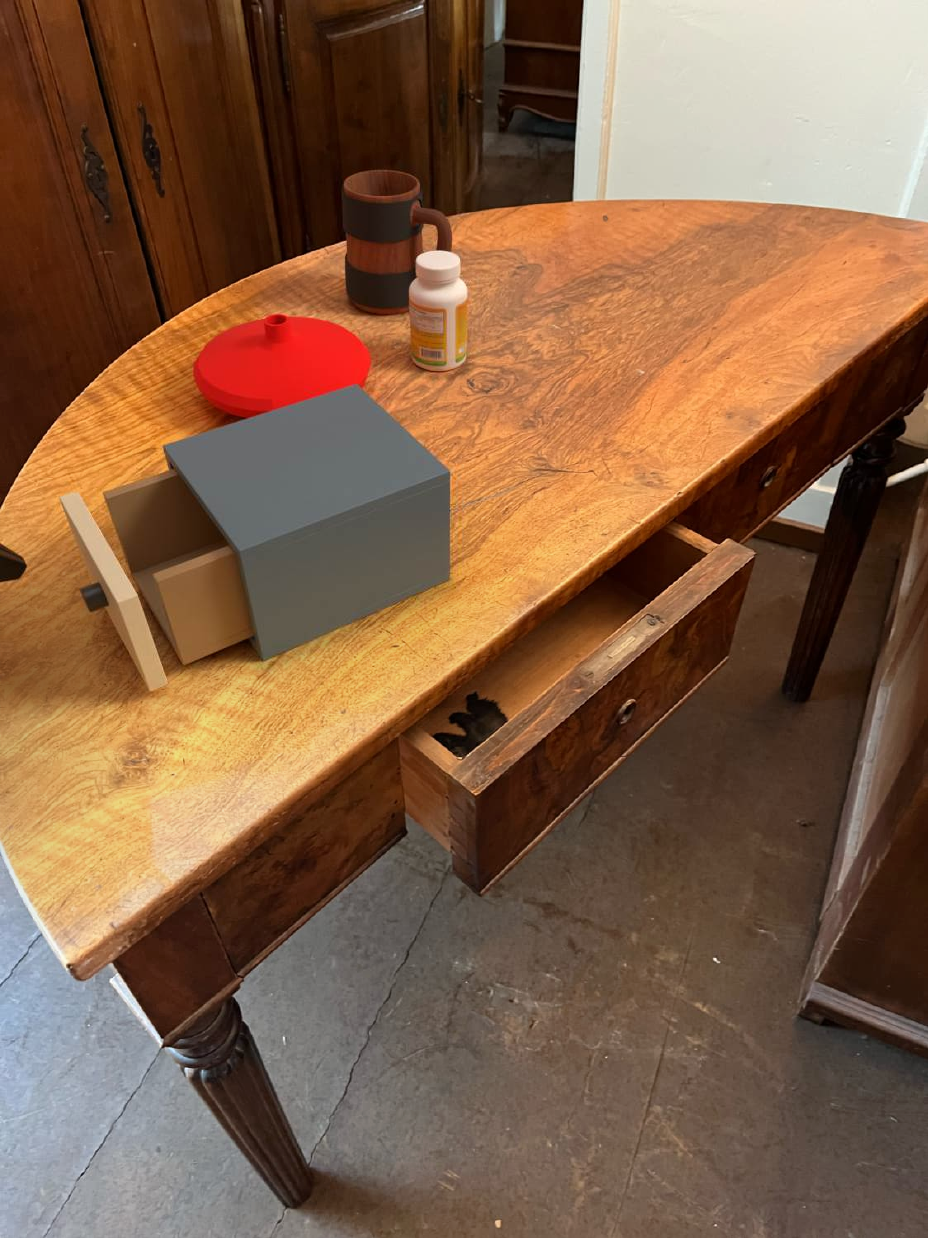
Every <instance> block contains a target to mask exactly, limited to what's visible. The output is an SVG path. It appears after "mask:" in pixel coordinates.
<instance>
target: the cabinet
mask: <svg viewBox="0 0 928 1238" xmlns="http://www.w3.org/2000/svg"><path fill="white" fill-rule="evenodd" d="M162 449H163V453H164V456H165V460H166V465H167V468H168V471H169V470H172V469H175V470H176V471H177V472H178V474H179V475H180V477H181V478H182V479H183V481H184V482H185V483H186V485H187V486H188V488H189V489H190V490H191V492H192V493H193V495H194V496H195V497H196V499H197V500H198V501H199V503H200V504H201V506H202V507H203V508H204V510H205V511H206V513H207V514H208V515H209V517H210V518H211V520H212V521H213V522H214V524H215V525H216V526H217V528H218V529H219V531H220V532H221V533H222V535H223V536H224V538H225V539H226V540H227V542H228V543H229V544H230V546H231V547H232V549H233V550H234V551H235V553H236V556H237V560H238V565H239V569H240V574H241V578H242V583H243V587H244V591H245V596H246V600H247V605H248V609H249V614H250V618H251V623H252V627H253V632H254V636H252V637H250V638H247V640H248V641H249V642H250V643H251V645H252V646H253V648H254V650H255V651H256V652H257V655H259V657H260V659H261V660H262V661H263V662H265V661H267V660H269V659H271V658H274V657H276V656H279V655H281V654H284V653H286V652H288V651H290V650H292V649H295V648H296V647H300V646H301V645H304V644H307V643H308V642H311V641H313V640H316V639H317V638H319V637H322V636H324V635H326V634H329V633H331V632H334V631H336V630H338V629H341V628H343V627H345V626H347V625H349V624H352V623H354V622H357V621H359V620H361V619H363V618H365V617H367V616H370V615H373V614H375V613H377V612H380V611H382V610H384V609H387V608H389V607H391V606H393V605H396V604H398V603H399V602H402V601H404V600H407V599H409V598H411V597H414V596H416V595H418V594H421V593H424V592H425V591H427V590H429V589H432V588H434V587H436V586H438V585H442V584H443V583H446V582H449V581H450V580H451V572H450V571H451V470H450V469H449V468H448V467H447V466H445V465H444V463H442V462H441V460H439V459H438V458H437V457H436V456H435V455H434V454H433V453H432V452H431V451H429V449H427V448H426V447H425V446H424V445H423V444H422V443H421V442H420V441H419V440H418V439H417V438H416V437H415V436H413V435H412V434H411V432H409V431H408V430H407V429H406V428H405V427H404V426H402V425H401V423H400V422H399V421H398V420H396V419H395V418H394V417H393V416H392V415H391V414H390V413H388V411H386V410H385V409H384V408H383V407H382V406H381V404H379V403H378V402H377V401H376V400H375V399H374V398H373V397H371V396H370V395H369V394H368V393H367V392H366V391H365V390H364V389H363V387H362V388H360V387H359V386H358V385H357V384H355V385H352V386H348V387H345V388H342V389H339V390H336V391H333V392H330V393H326V394H323V395H320V396H317V397H314V398H311V399H307V400H304V401H301V402H298V403H295V404H292V405H289V406H285V407H282V408H279V409H276V410H273V411H270V412H267V413H263V414H260V415H257V416H254V417H251V418H245V419H241V420H238V421H236V422H235V421H234V422H232V423H228V424H226V425H223V426H222V425H221V426H220V427H219V426H218V427H216V428H213V429H210V430H207V431H204V432H201V433H198V434H194V435H191V436H188V437H185V438H181V439H179V440H176V441H172V442H169V443H167V444H166V443H165V444H163V445H162Z"/></svg>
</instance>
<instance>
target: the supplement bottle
mask: <svg viewBox="0 0 928 1238" xmlns="http://www.w3.org/2000/svg"><path fill="white" fill-rule="evenodd" d="M416 276H417V278H416V279H415V280H414V281H413V282H412V283H411V285H410V287H409V309H410V310H409V330H410V331H409V333H410V355H411V360H412V362H413V363H414V364H415V365H416V366H418V367H419V368H421V369H424V370H427V371H434V372H446V371H451V370H453V369H454V370H455V369H457V368H458V367H460V366H461V365H463V364H464V363H465V362H466V359H467V355H468V354H467V351H468V287H467V285H466V283H465V281H464V280H462V279H461V278H460V276H461V258H460V257H459V255H458V254H456V253H455V252H454V253H453V252H452V251H451V252H447V251H436V250H430V251H429V250H428V251H424V253H422V254H421V255H419V256H418V257H417V258H416Z"/></svg>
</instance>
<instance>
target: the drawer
mask: <svg viewBox="0 0 928 1238" xmlns="http://www.w3.org/2000/svg"><path fill="white" fill-rule="evenodd" d="M102 495H103V498H104V502H105V504H106V507H107V510H108V513H109V516H110V519H111V521H112V524H113V527H114V530H115V533H116V536H117V539H118V542H119V545H120V548H121V550H122V553H123V556H124V559H125V563H126V566H127V568H128V571H129V574H130V576H131V578H132V580H133V582H134V583H135V585H136V587H137V588H138V590H139V592H140V593H141V595H142V597H143V599H144V600H145V602H146V604H147V606H148V608H149V609H150V611H151V612H152V614H153V616H154V617H155V619H156V621H157V623H158V624H159V626H160V628H161V630H162V631H163V633H164V635H165V637H166V638H167V640H168V641H169V644H170V645H171V647H172V649H173V650H174V653H176V655H177V658H178V659H179V660H180V662H181V664H182V665H183V666H186V665H188V664H190V663H193V662H195V661H198V660H199V659H203V658H204V657H207V656H209V655H211V654H212V655H213V653H216V652H219V651H221V650H223V649H224V650H225V649H226V648H228V647H230V646H234V645H235V644H237V643H240V642H243V641H244V640H248V638H250V637H252V636H254V632H253V627H252V623H251V618H250V614H249V609H248V605H247V600H246V596H245V591H244V587H243V583H242V578H241V574H240V569H239V565H238V560H237V556H236V553H235V551H234V550H233V549H232V547H231V546H230V544H229V543H228V542H227V540H226V539H225V538H224V536H223V535H222V533H221V532H220V531H219V529H218V528H217V526H216V525H215V524H214V522H213V521H212V520H211V518H210V517H209V515H208V514H207V513H206V511H205V510H204V508H203V507H202V506H201V504H200V503H199V501H198V500H197V499H196V497H195V496H194V495H193V493H192V492H191V490H190V489H189V488H188V486H187V485H186V483H185V482H184V481H183V479H182V478H181V477H180V475H179V474H178V472H177V471H176V470H175V469H172V470H169V469H168V470H166V471H163V472H159V473H157V474H154V475H151V476H147V477H145V478H141V479H138V480H136V481H133V482H129V483H126V484H124V485H120V486H117V487H114V488H111V489H109V490H105V491H103V492H102ZM58 499H59V502H60V504H61V507H62V509H63V512H64V514H65V517H66V520H67V522H68V525H69V527H70V530H71V533H72V535H73V538H74V541H75V543H76V545H77V548H78V551H79V552H80V555H81V558H82V560H83V563H84V566H85V568H86V571H87V573H88V576H89V578H90V581H91V584H88V585H85V586H84V587H81V588H79V592H80V595H81V597H82V600H83V602H84V604H85V606H86V608H87V610H88V612H89V613H93V612H96V611H99V610H102V609H105V610H106V613H107V614H108V616H109V618H110V620H111V622H112V624H113V626H114V628H115V629H116V631H117V633H118V635H119V637H120V639H121V640H122V643H123V644H124V646H125V648H126V651H127V652H128V654H129V656H130V657H131V659H132V662H133V663H134V665H135V666H136V669H137V671H138V672H139V674H140V677H141V678H142V680H143V682H144V684H145V686H146V688H147V690H148V691H149V692H151V693H152V692H153V691H156V690H158V689H160V688H163V687H165V686H167V685H168V684H169V682H168V679H167V676H166V673H165V670H164V667H163V663H162V661H161V659H160V656H159V653H158V650H157V646H156V644H155V641H154V638H153V635H152V633H151V630H150V627H149V623H148V621H147V618H146V614H145V611H144V609H143V606H142V603H141V600H140V597H139V595H138V593H137V591H136V590H135V587H134V586H133V584H132V583H131V581H130V579H129V578H128V576H127V574H126V573H125V571H124V569H123V567H122V565H121V564H120V562H119V560H118V558H117V556H116V554H115V553H114V552H113V549H112V548H111V546H110V544H109V542H108V541H107V539H106V537H105V535H104V534H103V532H102V531H101V529H100V527H99V525H98V524H97V522H96V521H95V519H94V517H93V515H92V513H91V512H90V509H89V508H88V506H87V504H86V503H85V501H84V499H83V498H82V496H81V494H80V493H79V491H78V490H76V491H73V492H71V493H67V494H64V495H61V496H59V497H58Z"/></svg>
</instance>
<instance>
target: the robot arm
mask: <svg viewBox="0 0 928 1238" xmlns="http://www.w3.org/2000/svg"><path fill="white" fill-rule="evenodd" d="M27 569H28V564H27V562H26V560H25V558H24V557H23V556H22V555H21V554H19V553H17V552H16V551H14V550H13V549H10V548H9V547H8V546H5V545H4V544H2V543H1V542H0V584H1V583H7V582H13V581H17V580H20V579H21V578H22V576H23V575H24V573H25V572H26V570H27Z"/></svg>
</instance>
